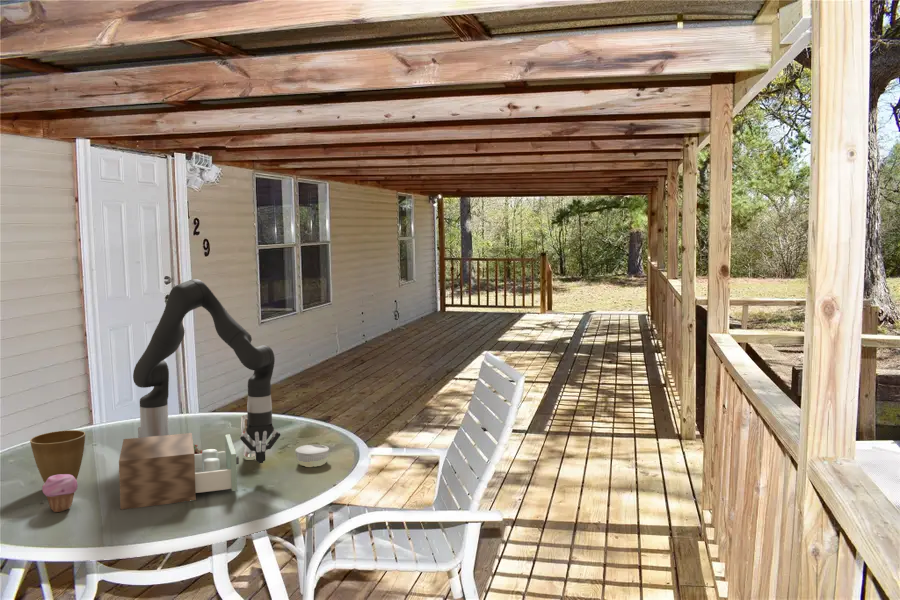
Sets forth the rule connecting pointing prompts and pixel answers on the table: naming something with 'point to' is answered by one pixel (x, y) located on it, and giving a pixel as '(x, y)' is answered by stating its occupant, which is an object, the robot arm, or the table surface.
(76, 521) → the table surface
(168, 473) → the wooden drawer cabinet
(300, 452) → the ramekin
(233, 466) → the drawer
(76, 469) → the plant pot
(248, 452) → the beer glass
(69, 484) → the cupcake
